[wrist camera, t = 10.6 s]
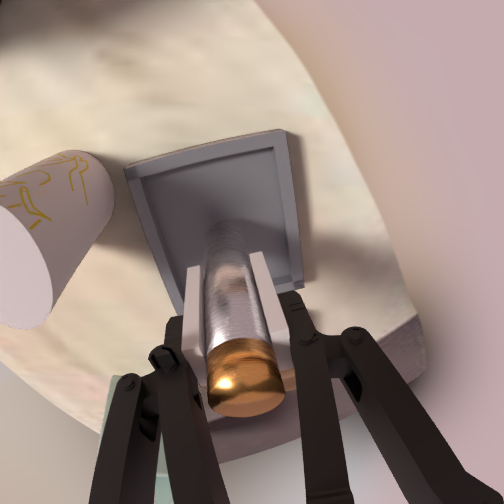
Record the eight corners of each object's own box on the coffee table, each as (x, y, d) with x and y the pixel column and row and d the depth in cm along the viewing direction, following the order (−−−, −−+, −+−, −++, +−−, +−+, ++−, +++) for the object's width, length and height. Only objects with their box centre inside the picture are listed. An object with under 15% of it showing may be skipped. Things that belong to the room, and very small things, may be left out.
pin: (210, 259, 23) (219, 421, 11) (200, 226, 22) (197, 385, 9) (247, 251, 23) (288, 408, 11) (239, 217, 22) (281, 369, 10)
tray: (129, 164, 21) (123, 169, 19) (279, 128, 21) (285, 130, 20) (178, 303, 28) (177, 315, 26) (299, 276, 28) (304, 287, 26)
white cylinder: (118, 153, 20) (43, 204, 10) (113, 244, 24) (64, 342, 13) (36, 148, 18) (-59, 194, 8) (38, 233, 22) (-30, 313, 11)
